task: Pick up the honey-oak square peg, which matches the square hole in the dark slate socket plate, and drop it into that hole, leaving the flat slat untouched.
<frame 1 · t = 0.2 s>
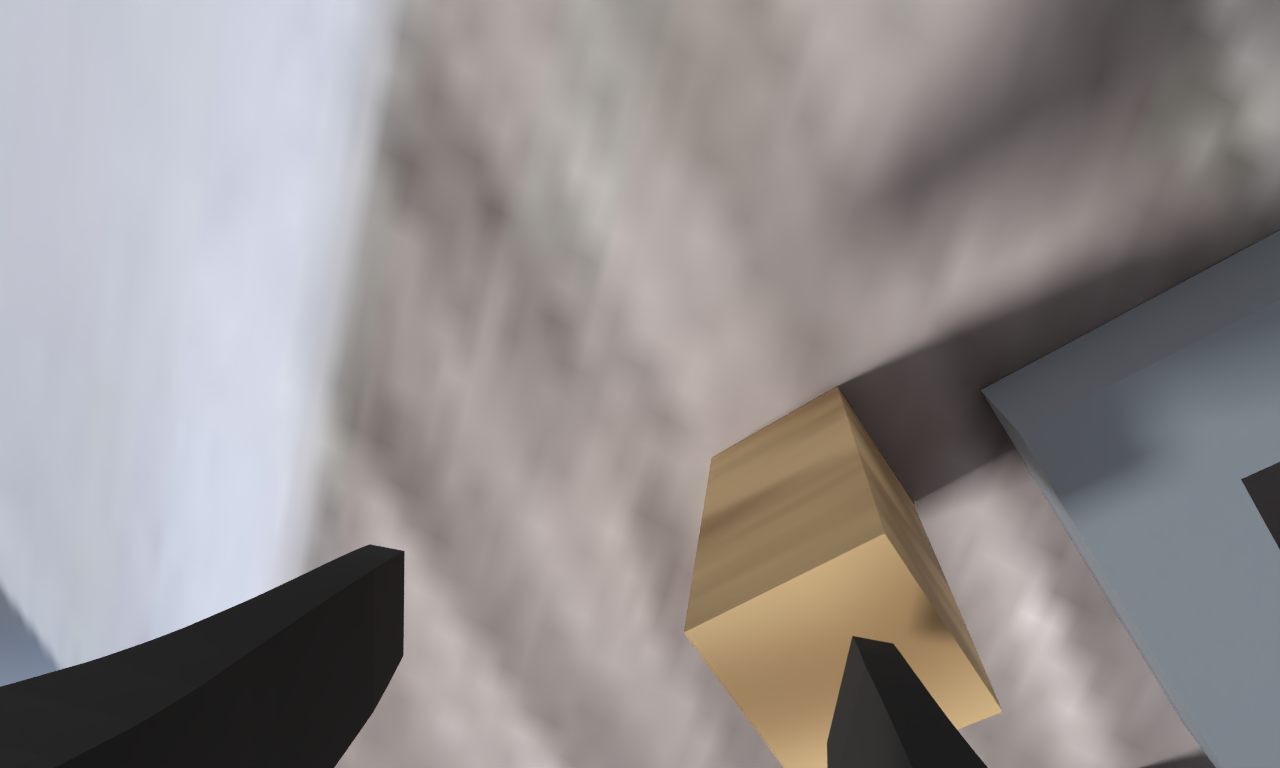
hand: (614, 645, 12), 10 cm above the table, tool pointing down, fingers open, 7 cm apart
square peg: (811, 480, 21), on the table
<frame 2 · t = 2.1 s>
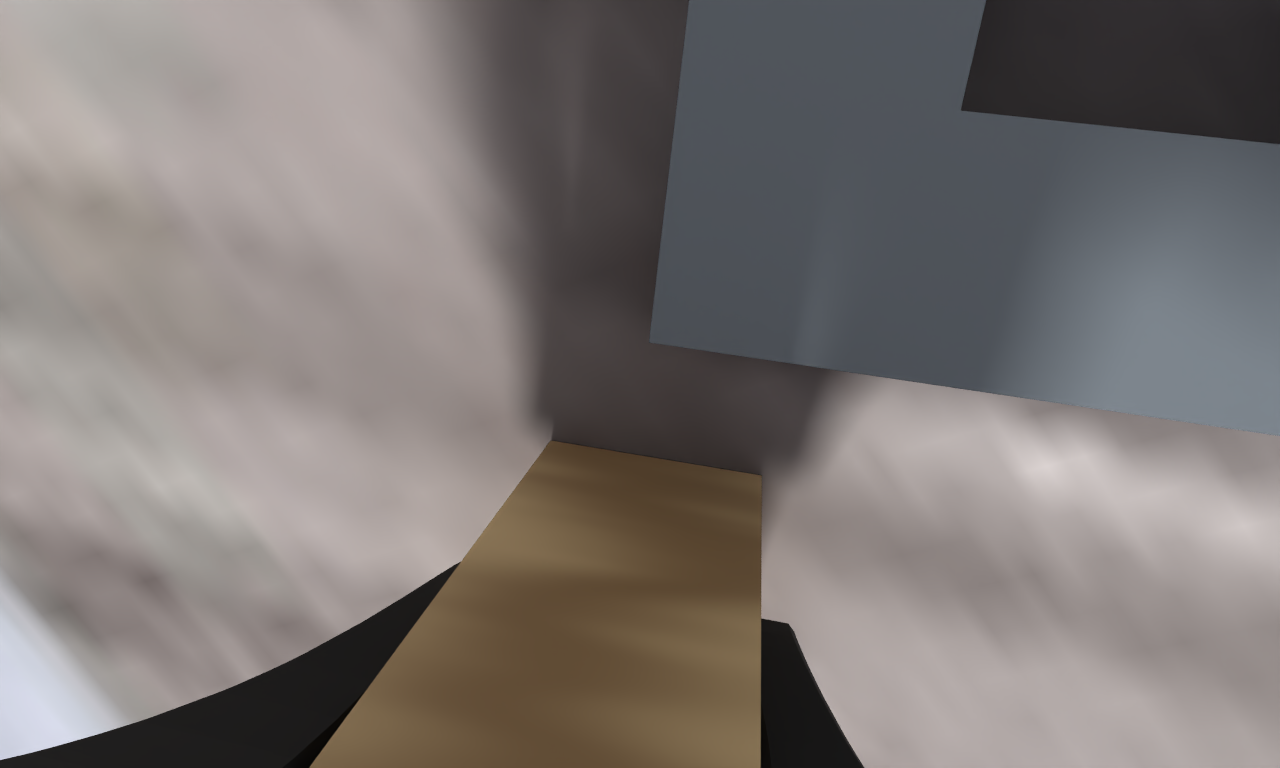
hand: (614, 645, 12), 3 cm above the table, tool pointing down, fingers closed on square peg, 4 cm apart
square peg: (642, 551, 14), on the table, touching gripper
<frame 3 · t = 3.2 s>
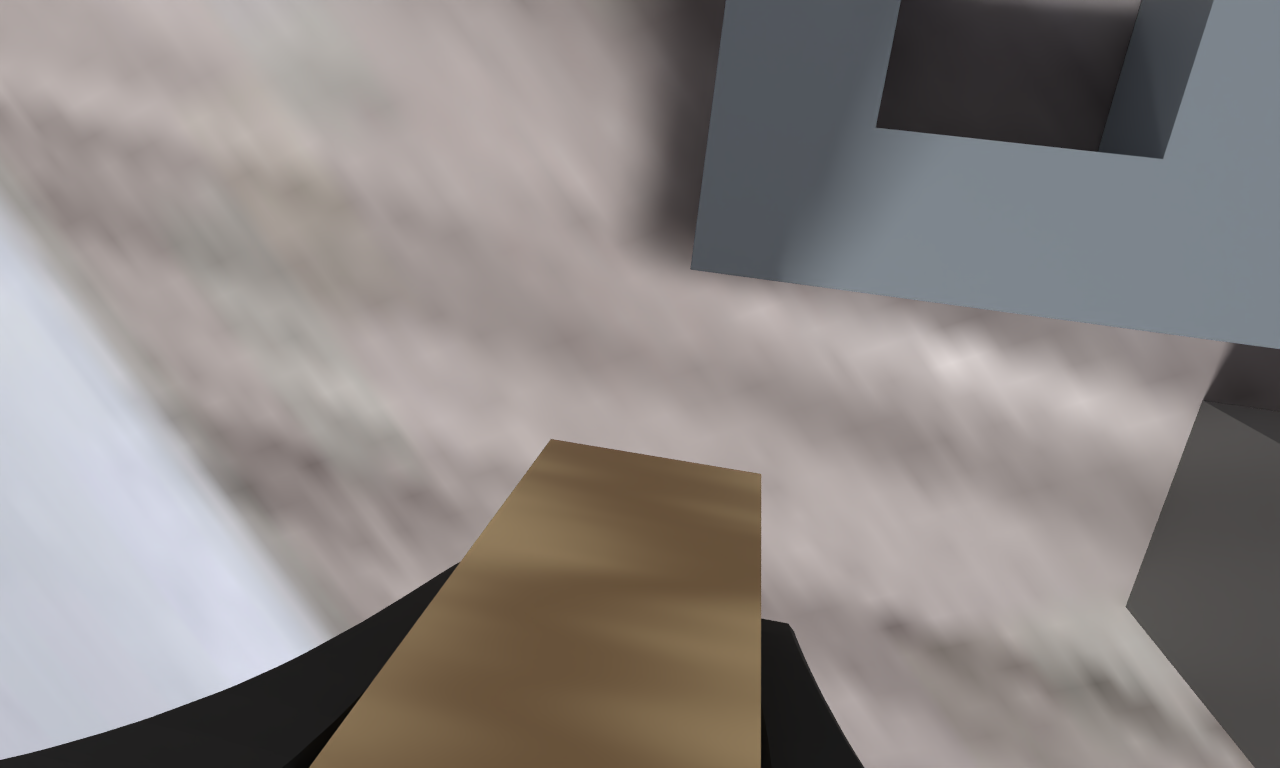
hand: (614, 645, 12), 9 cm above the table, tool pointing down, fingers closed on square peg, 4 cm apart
flat slat: (1213, 516, 19), on the table
socket plate: (1004, 17, 16), on the table
square peg: (642, 549, 14), point 6 cm above the table, touching gripper
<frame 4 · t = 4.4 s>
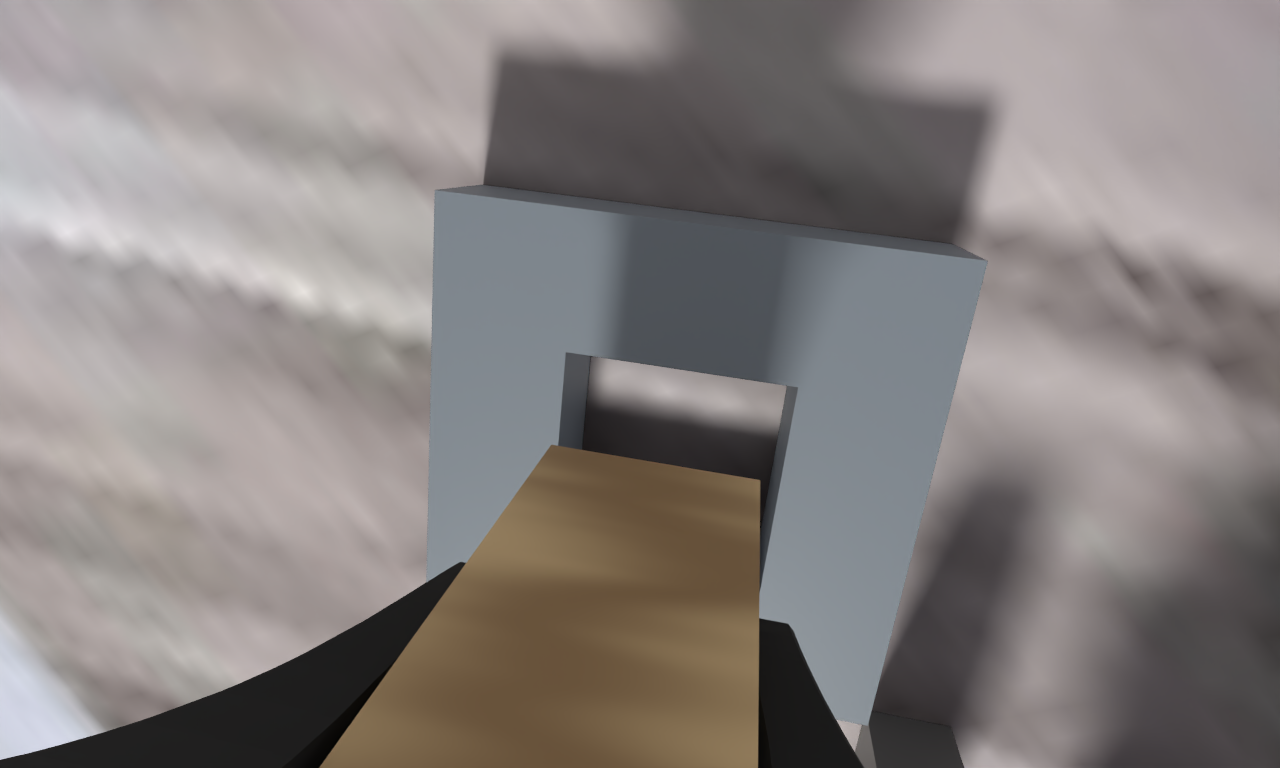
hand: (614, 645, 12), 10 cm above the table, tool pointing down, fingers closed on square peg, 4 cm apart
socket plate: (679, 431, 21), on the table
square peg: (642, 554, 15), point 6 cm above the table, touching gripper
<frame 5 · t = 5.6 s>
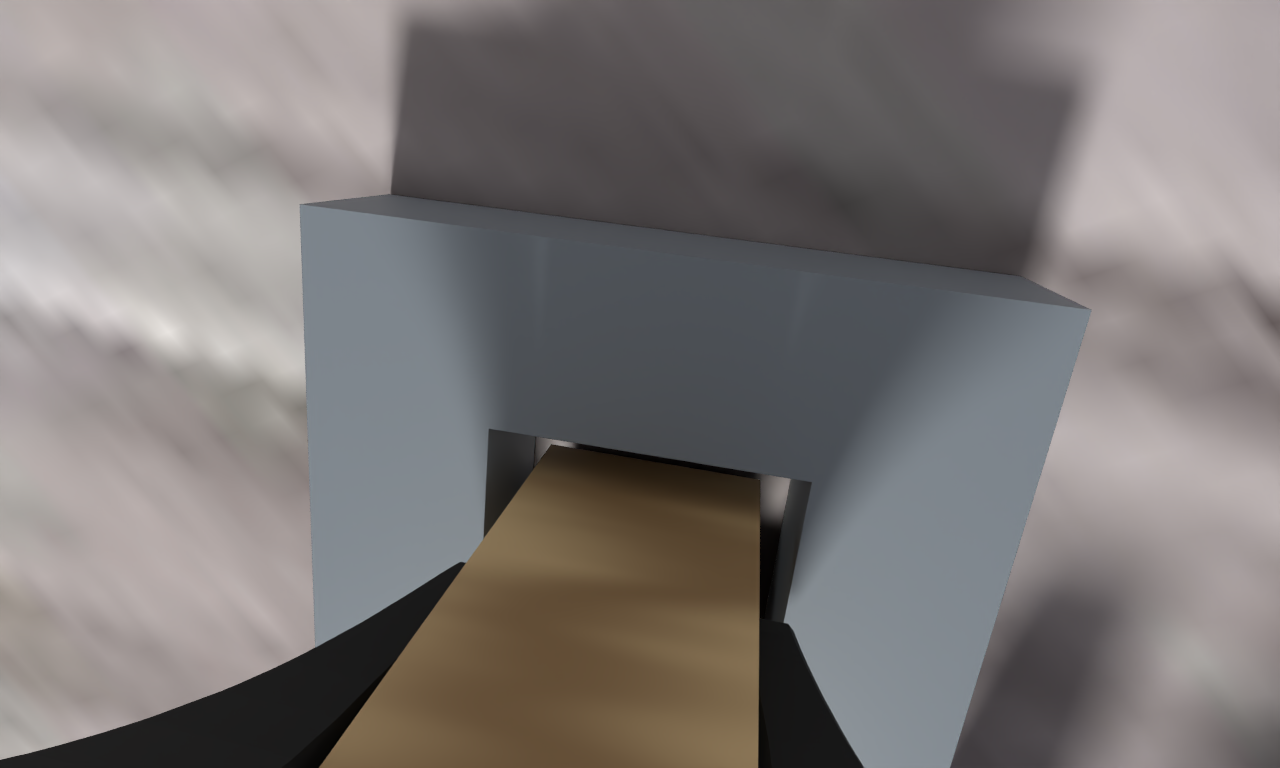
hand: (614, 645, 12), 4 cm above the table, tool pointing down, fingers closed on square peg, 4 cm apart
socket plate: (652, 515, 16), on the table
square peg: (642, 554, 15), point 1 cm above the table, touching gripper
when the fingers open (4 cm above the table, at t = 6.6 s): square peg drops 1 cm, resting in socket plate.
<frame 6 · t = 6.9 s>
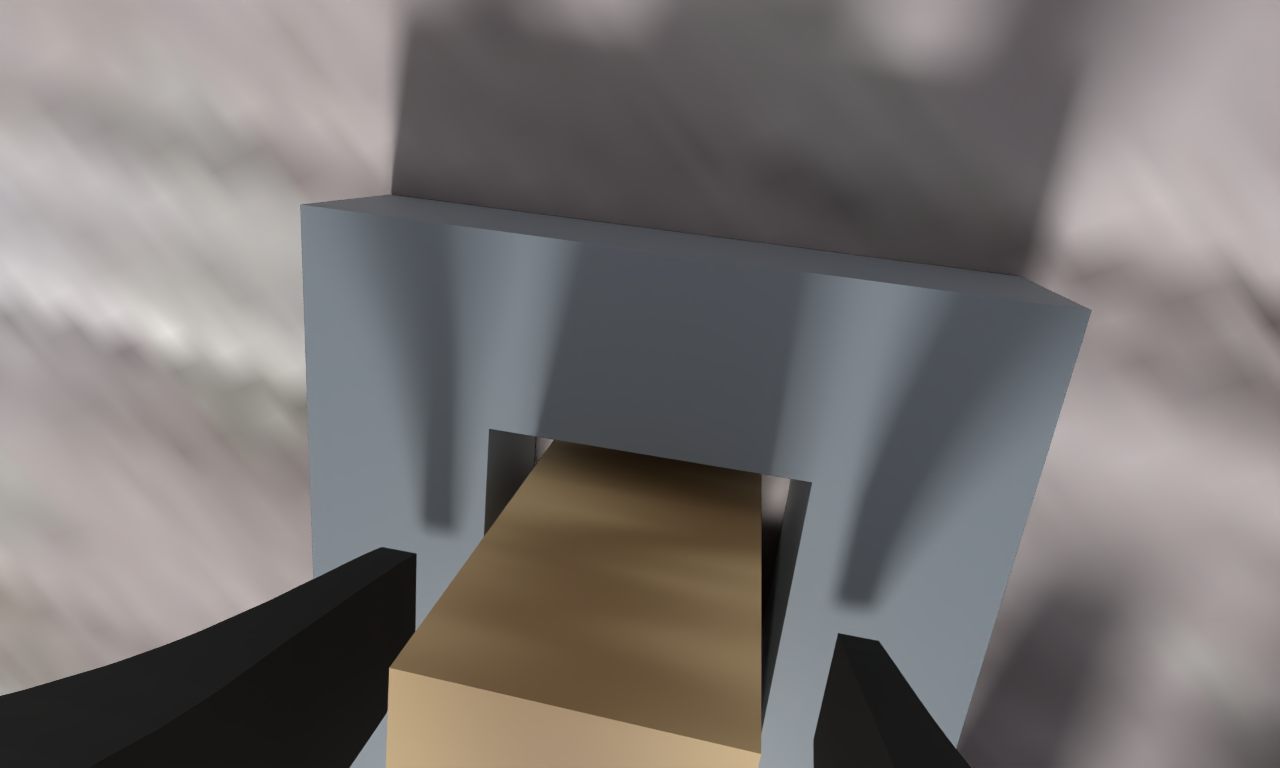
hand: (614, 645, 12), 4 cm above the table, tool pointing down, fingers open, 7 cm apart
socket plate: (653, 515, 16), on the table
square peg: (651, 519, 16), resting in socket plate
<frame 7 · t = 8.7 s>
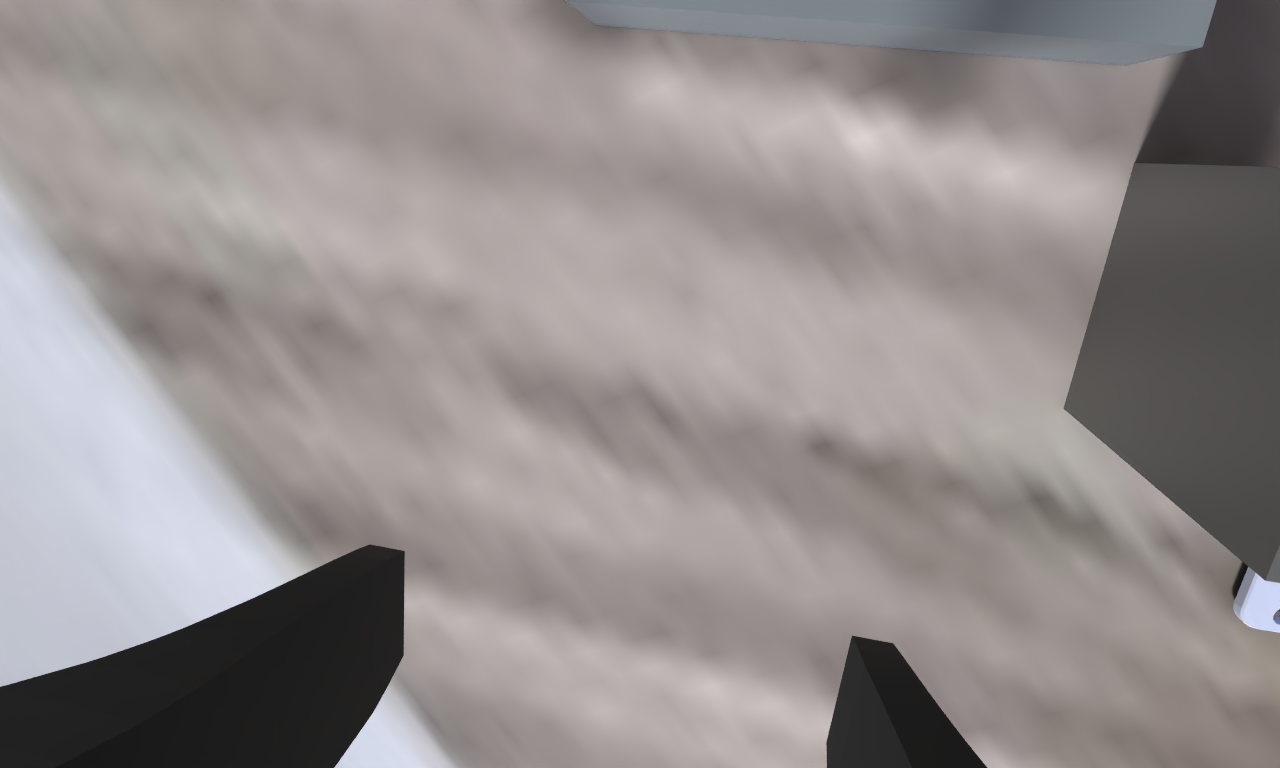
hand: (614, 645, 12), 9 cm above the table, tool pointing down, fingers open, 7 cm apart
flat slat: (1152, 298, 18), on the table
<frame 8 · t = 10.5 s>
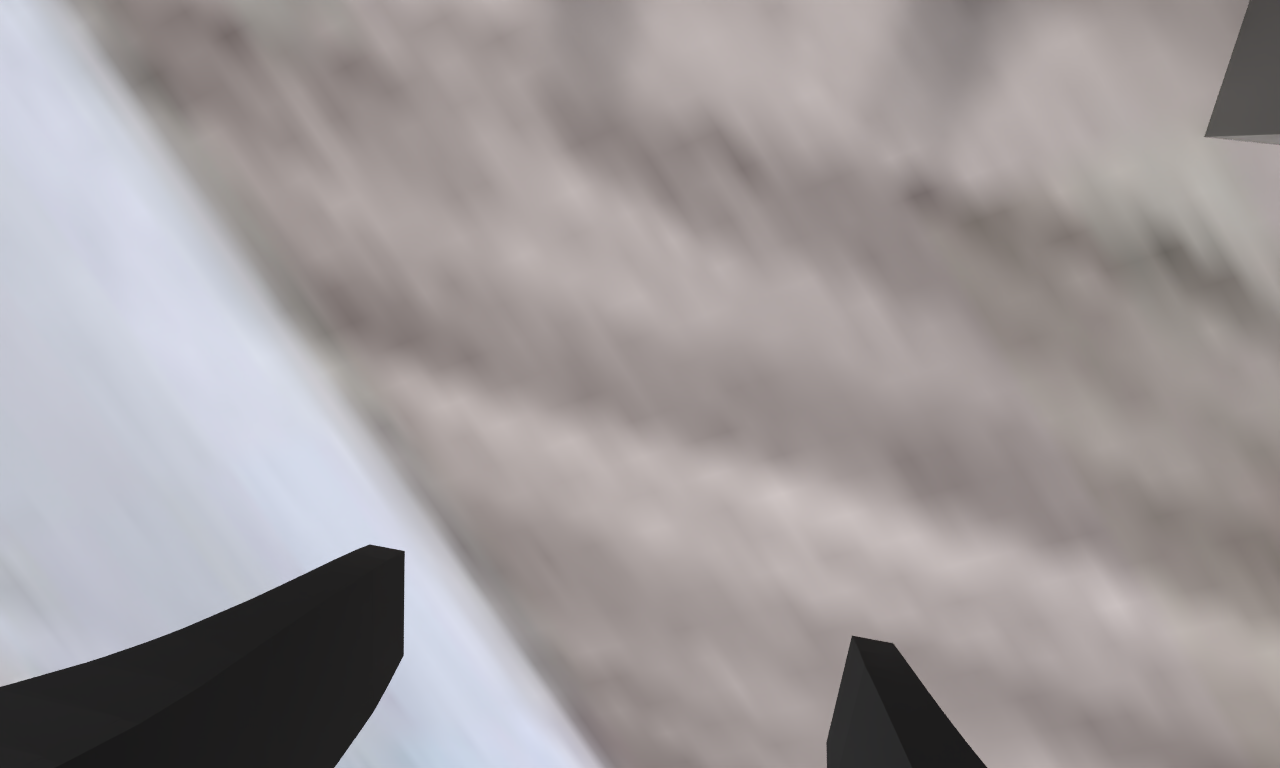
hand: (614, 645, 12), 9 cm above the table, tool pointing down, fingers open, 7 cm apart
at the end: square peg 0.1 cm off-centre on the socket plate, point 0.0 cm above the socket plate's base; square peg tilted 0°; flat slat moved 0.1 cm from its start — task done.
